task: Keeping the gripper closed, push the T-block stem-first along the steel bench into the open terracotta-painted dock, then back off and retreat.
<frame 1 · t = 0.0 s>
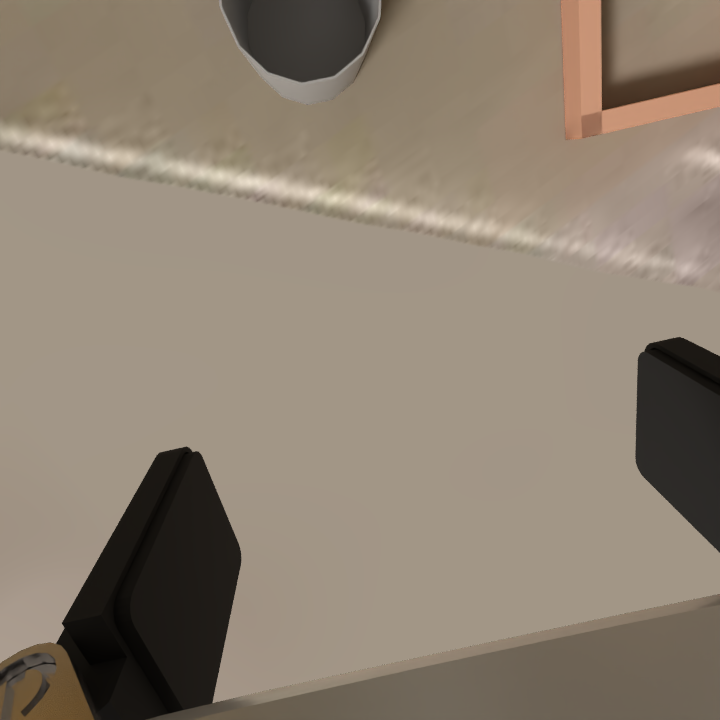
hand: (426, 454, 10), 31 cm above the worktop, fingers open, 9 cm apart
cup: (307, 37, 33), on the worktop
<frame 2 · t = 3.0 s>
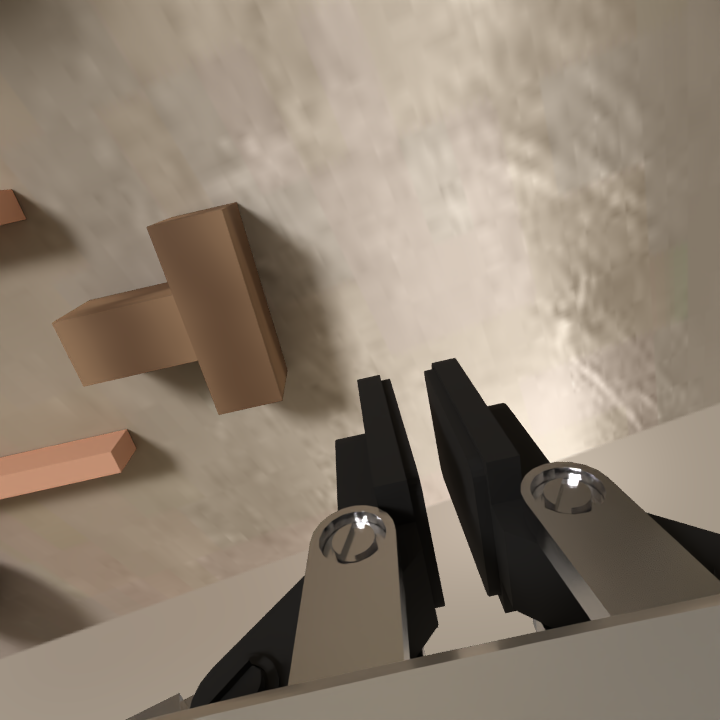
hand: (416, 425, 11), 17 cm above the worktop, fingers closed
t block: (233, 299, 27), on the worktop
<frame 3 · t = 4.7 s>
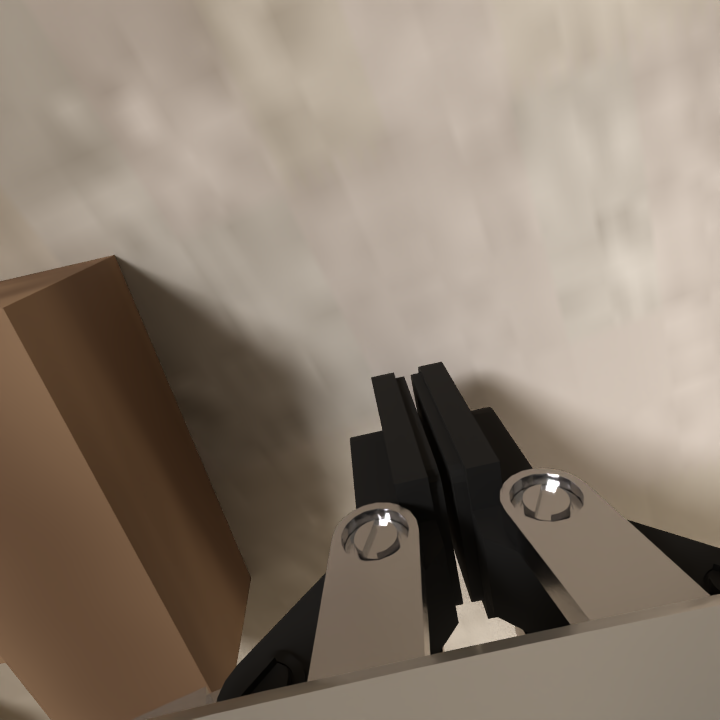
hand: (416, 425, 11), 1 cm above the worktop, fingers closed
t block: (129, 456, 12), on the worktop
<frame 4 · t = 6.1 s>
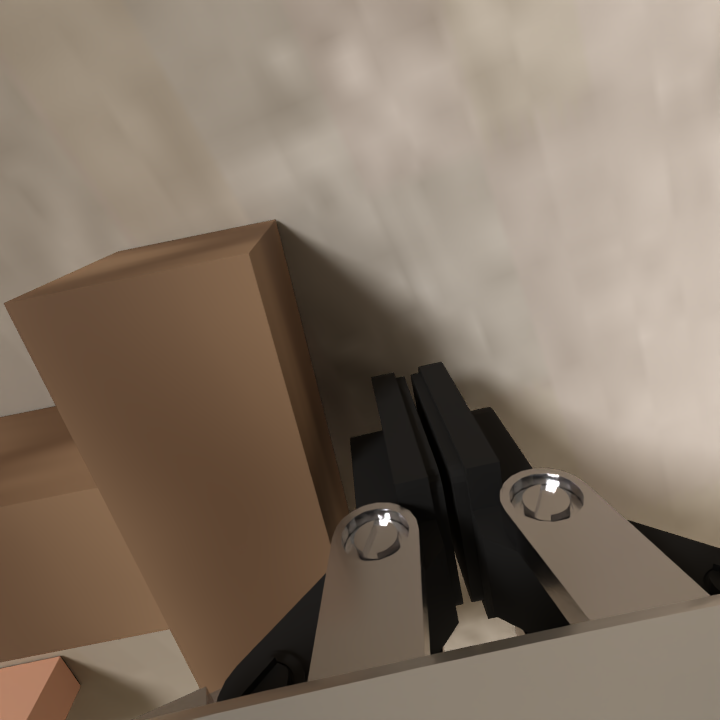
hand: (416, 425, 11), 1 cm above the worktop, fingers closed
t block: (258, 429, 12), on the worktop, touching gripper
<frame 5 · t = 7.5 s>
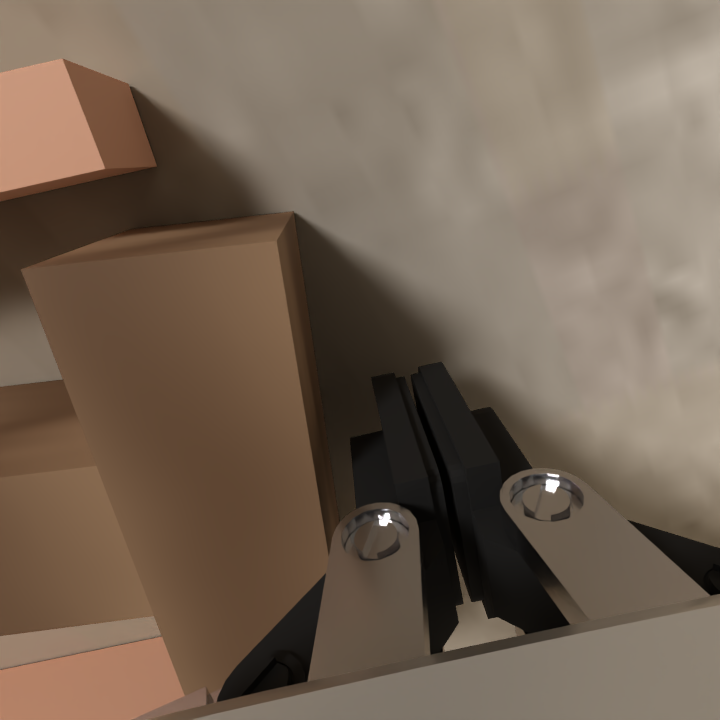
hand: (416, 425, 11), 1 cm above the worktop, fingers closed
t block: (255, 421, 12), on the worktop, touching gripper
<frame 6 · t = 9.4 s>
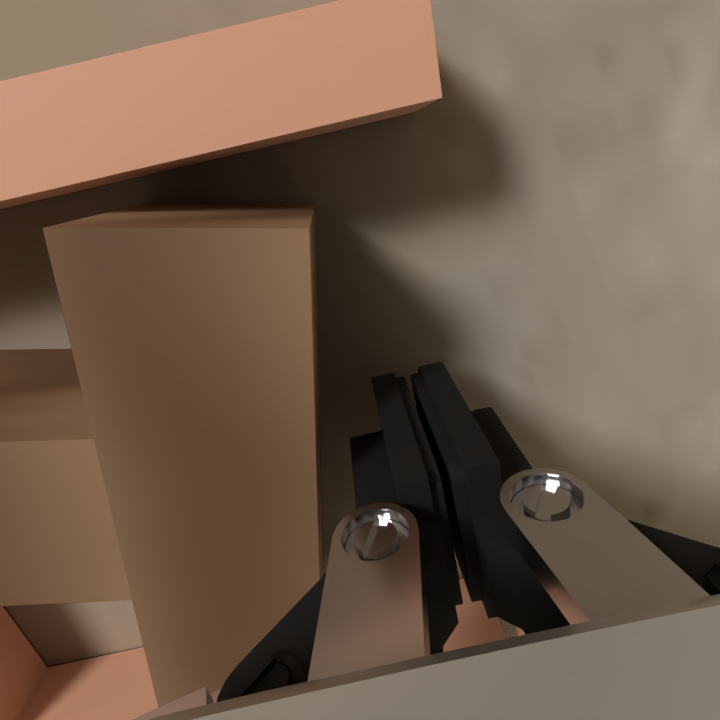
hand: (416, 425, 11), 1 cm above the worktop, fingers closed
dock: (190, 450, 12), on the worktop
t block: (250, 411, 12), on the worktop, touching gripper
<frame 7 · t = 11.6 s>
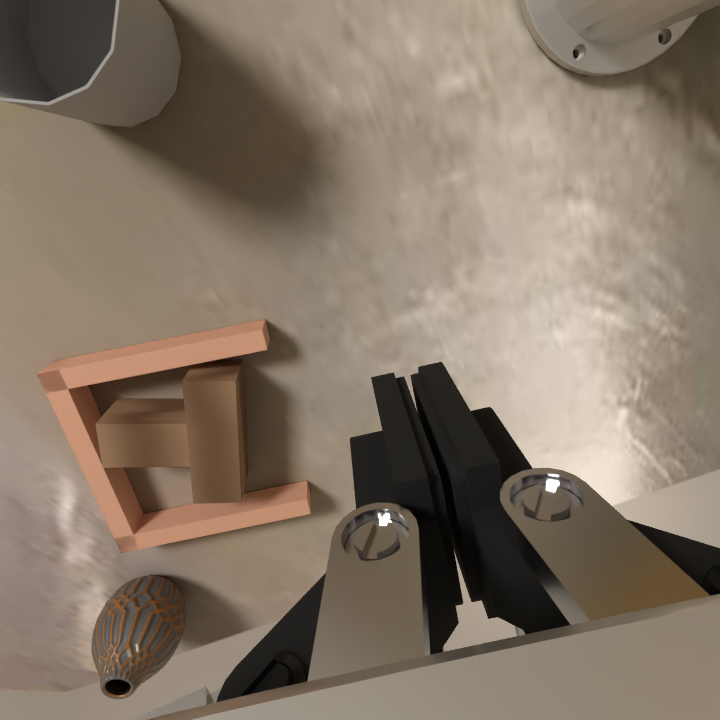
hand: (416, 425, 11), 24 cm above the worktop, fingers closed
cup: (109, 50, 28), on the worktop
dock: (203, 431, 38), on the worktop
vase: (154, 590, 43), on the worktop
t block: (223, 418, 38), on the worktop
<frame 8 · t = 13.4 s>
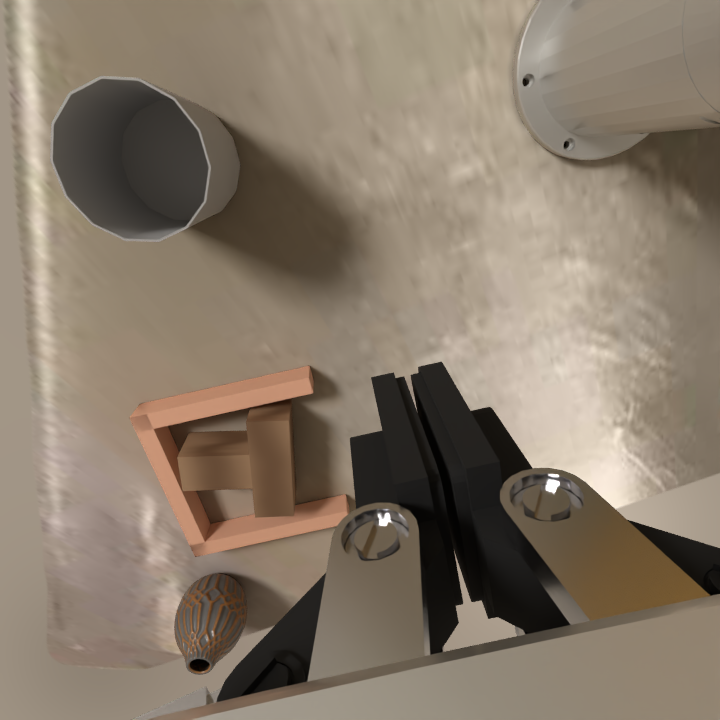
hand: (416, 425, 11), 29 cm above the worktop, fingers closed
cup: (183, 163, 35), on the worktop
dock: (259, 456, 45), on the worktop
vase: (219, 585, 52), on the worktop
t block: (275, 445, 45), on the worktop
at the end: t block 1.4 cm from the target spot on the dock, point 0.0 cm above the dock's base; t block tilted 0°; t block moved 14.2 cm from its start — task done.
